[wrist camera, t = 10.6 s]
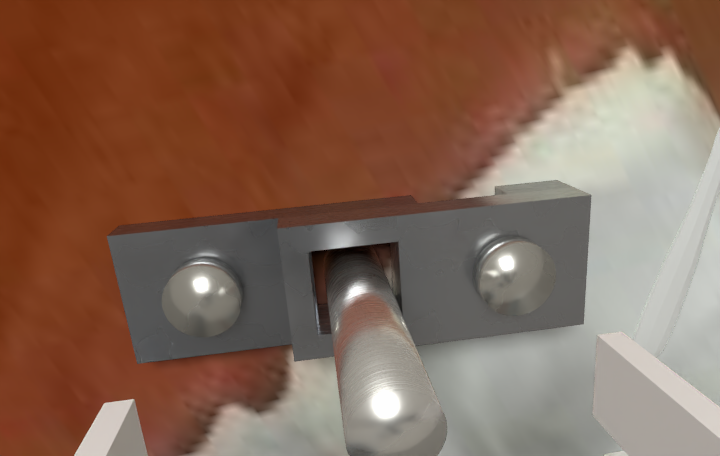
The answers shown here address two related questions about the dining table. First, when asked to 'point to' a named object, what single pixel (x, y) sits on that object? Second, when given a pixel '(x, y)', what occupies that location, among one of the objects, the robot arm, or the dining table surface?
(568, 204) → the grey bolted bracket
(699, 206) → the butter knife
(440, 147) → the dining table surface
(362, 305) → the metal pin
